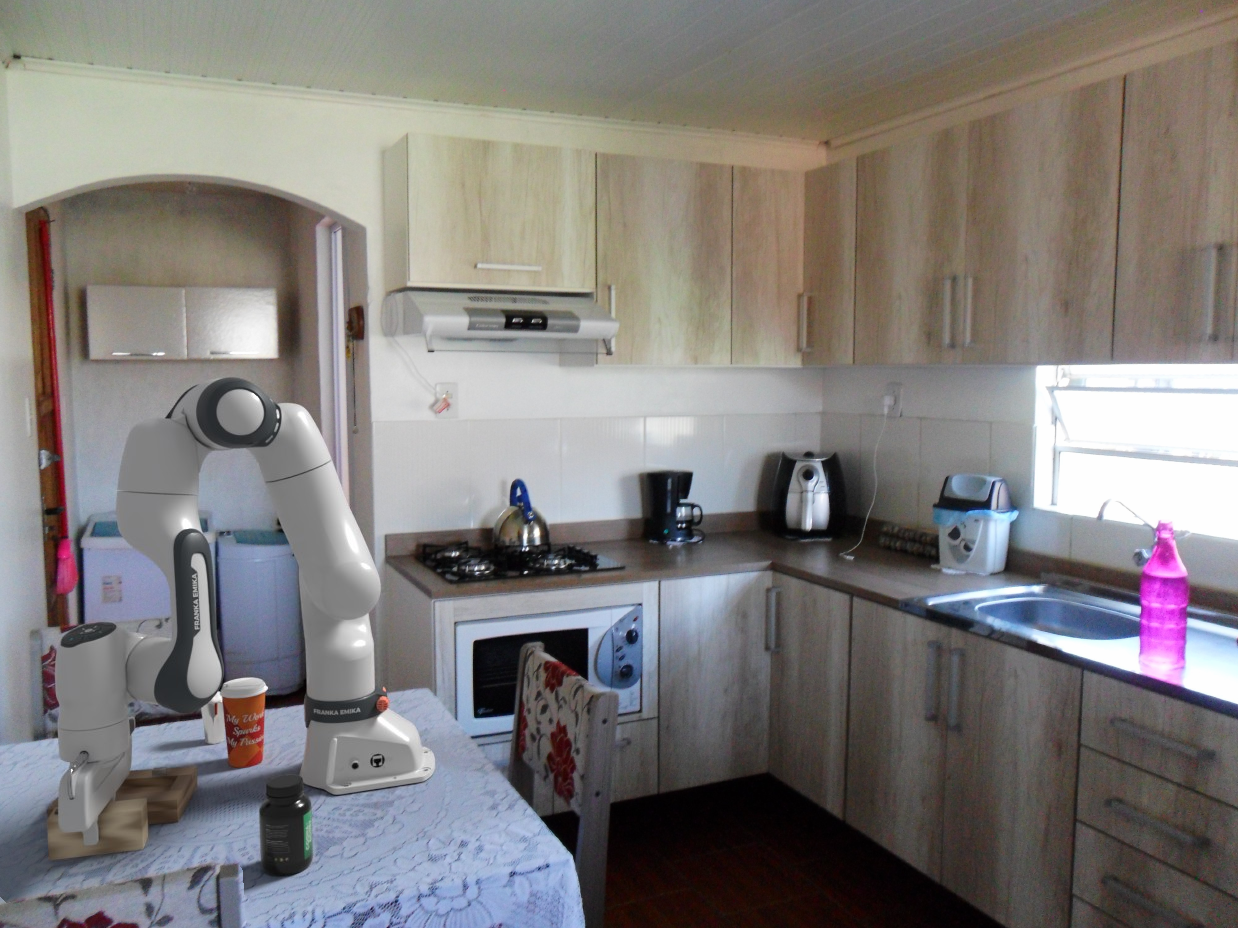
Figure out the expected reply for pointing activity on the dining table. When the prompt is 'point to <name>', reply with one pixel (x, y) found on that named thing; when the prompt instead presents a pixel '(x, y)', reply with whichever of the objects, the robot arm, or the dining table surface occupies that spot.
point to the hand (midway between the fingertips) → (99, 833)
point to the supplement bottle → (285, 827)
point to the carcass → (157, 791)
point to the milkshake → (213, 720)
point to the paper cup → (244, 720)
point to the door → (103, 831)
